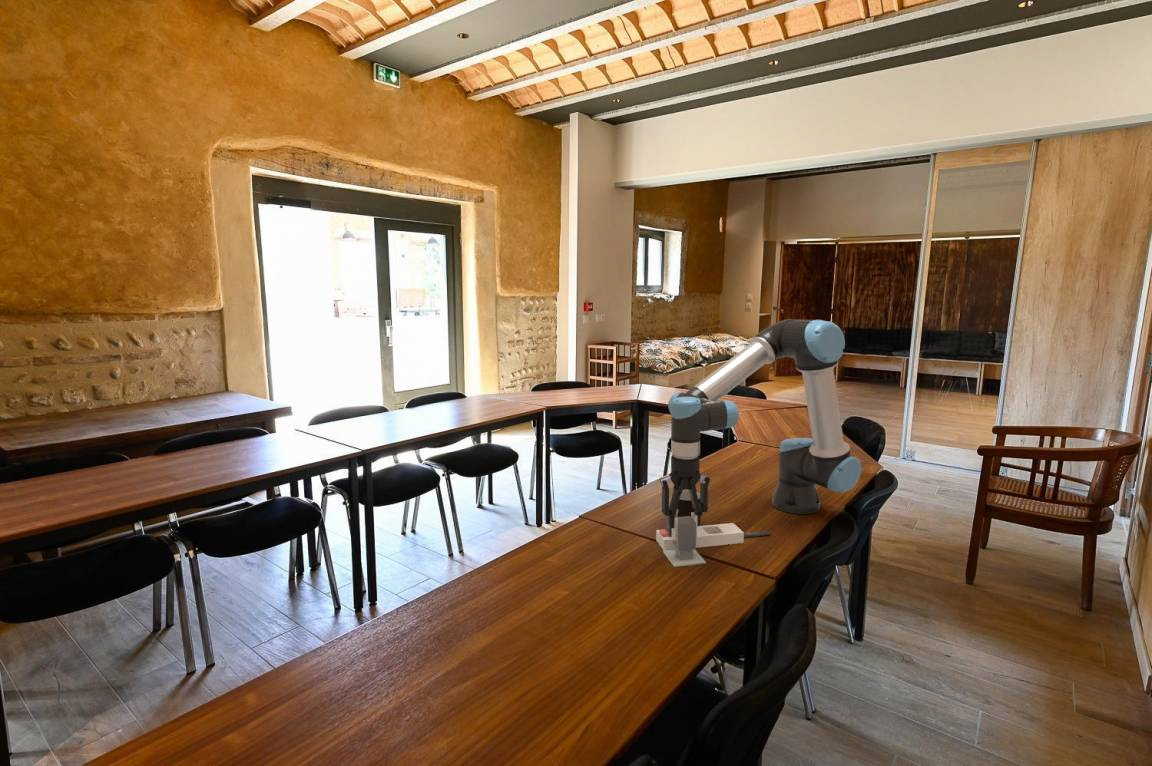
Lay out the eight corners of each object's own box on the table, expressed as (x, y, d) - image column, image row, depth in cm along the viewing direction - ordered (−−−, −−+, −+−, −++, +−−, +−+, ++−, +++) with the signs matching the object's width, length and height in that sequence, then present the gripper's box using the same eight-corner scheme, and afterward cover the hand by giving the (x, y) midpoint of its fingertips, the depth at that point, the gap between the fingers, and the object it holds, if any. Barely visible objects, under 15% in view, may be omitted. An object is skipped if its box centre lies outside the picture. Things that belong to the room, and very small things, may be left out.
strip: (763, 530, 172) (764, 507, 171) (775, 539, 165) (776, 516, 164) (656, 540, 166) (656, 517, 165) (664, 551, 159) (664, 526, 158)
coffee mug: (700, 532, 171) (701, 500, 170) (672, 530, 173) (672, 499, 171) (700, 517, 182) (700, 487, 181) (673, 515, 184) (673, 486, 183)
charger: (689, 551, 158) (689, 516, 156) (695, 559, 153) (696, 522, 151) (672, 553, 157) (673, 517, 155) (678, 561, 152) (679, 524, 151)
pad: (693, 548, 160) (693, 547, 160) (705, 563, 152) (705, 562, 152) (662, 552, 159) (662, 550, 159) (673, 567, 150) (673, 565, 150)
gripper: (711, 449, 156) (709, 529, 159) (648, 453, 153) (648, 535, 156) (722, 456, 148) (720, 540, 152) (657, 461, 145) (657, 546, 149)
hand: (684, 537), depth 154 cm, fingers closed on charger, 5 cm apart
